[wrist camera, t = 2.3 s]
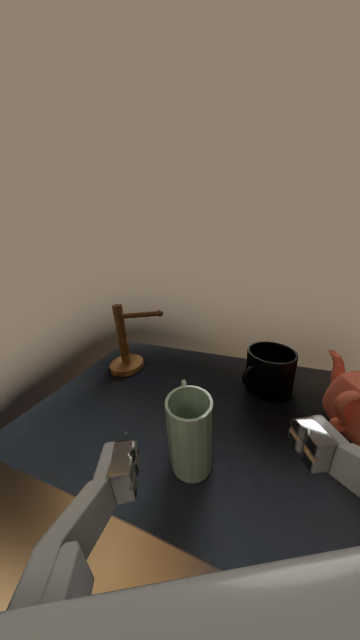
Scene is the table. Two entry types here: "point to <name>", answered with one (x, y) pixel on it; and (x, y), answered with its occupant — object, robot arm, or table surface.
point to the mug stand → (126, 344)
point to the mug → (270, 371)
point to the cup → (190, 432)
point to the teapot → (343, 400)
